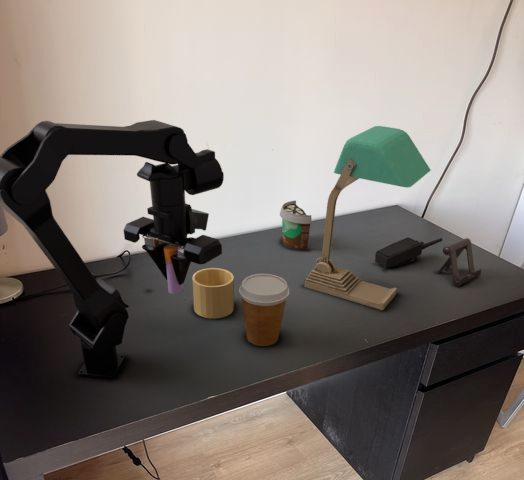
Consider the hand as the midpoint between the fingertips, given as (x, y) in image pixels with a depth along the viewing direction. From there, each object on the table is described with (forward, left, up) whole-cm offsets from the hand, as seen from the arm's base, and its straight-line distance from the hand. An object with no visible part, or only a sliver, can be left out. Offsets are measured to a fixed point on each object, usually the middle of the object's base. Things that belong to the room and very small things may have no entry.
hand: (175, 281), depth 100 cm
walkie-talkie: (+43, -50, -12) cm, 67 cm away
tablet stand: (+35, -61, -12) cm, 72 cm away
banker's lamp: (+23, -35, -12) cm, 44 cm away
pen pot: (+10, -5, -11) cm, 16 cm away
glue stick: (0, 0, -2) cm, 2 cm away
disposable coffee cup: (+1, -17, -12) cm, 20 cm away
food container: (+47, -19, -12) cm, 52 cm away
